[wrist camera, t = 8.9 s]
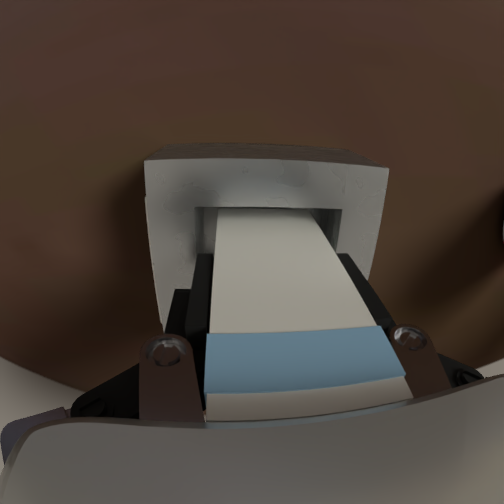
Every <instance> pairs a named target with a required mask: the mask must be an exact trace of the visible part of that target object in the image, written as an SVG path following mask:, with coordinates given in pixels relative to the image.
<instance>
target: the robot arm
mask: <svg viewBox="0 0 504 504" xmlns="http://www.w3.org/2000/svg"><path fill="white" fill-rule="evenodd" d="M336 255H337V256H338V258H339V260H340V261H341V263H342V265H343V267H344V268H345V270H346V272H347V273H348V275H349V277H350V278H351V280H352V282H353V284H354V285H355V287H356V289H357V291H358V292H359V294H360V296H361V298H362V299H363V301H364V303H365V305H366V306H367V308H368V310H369V312H370V314H371V315H372V317H373V319H374V321H375V323H376V325H377V326H381V328H382V330H383V331H384V333H385V335H386V337H387V339H388V341H389V342H390V344H391V346H392V348H393V350H394V352H395V354H396V356H397V358H398V359H399V361H400V363H401V365H402V367H403V369H404V371H405V373H406V375H405V377H404V378H405V380H406V382H407V385H408V387H409V389H410V391H411V393H412V395H413V399H411V400H407V401H403V402H398V403H394V404H389V405H384V406H379V407H374V408H369V409H364V410H358V411H352V412H346V413H339V414H332V415H325V416H317V417H308V418H298V419H287V420H274V421H257V422H205V420H204V415H203V411H204V410H205V409H206V404H205V396H204V379H205V359H206V341H207V334H209V333H210V315H211V298H212V283H213V269H214V257H213V253H198V254H197V258H196V264H195V269H194V275H193V280H192V286H191V289H175V291H174V294H173V298H172V302H171V306H170V310H169V314H168V319H167V323H166V327H165V332H164V334H162V335H157V336H154V337H152V338H150V339H149V340H147V341H146V342H145V343H144V344H143V346H142V347H141V350H140V361H139V363H138V364H137V365H135V366H133V367H131V368H130V369H128V370H126V371H124V372H122V373H121V374H119V375H117V376H115V377H114V378H112V379H110V380H108V381H106V382H104V383H103V384H101V385H99V386H97V387H95V388H94V389H92V390H90V391H88V392H86V393H84V394H83V395H81V396H80V397H78V398H77V399H76V401H75V402H74V403H73V405H72V407H71V409H67V410H65V409H64V407H60V408H57V409H54V410H50V411H47V412H44V413H41V414H37V415H34V416H30V417H27V418H23V419H19V420H15V421H13V422H10V423H8V424H7V425H6V426H5V427H4V428H3V430H2V433H1V438H0V442H1V449H2V455H3V461H4V468H3V470H2V473H1V475H0V504H504V374H500V375H496V376H492V377H486V378H485V379H484V377H483V376H482V374H480V373H479V372H478V371H477V370H475V369H473V368H471V367H469V366H467V365H464V364H462V363H459V362H457V361H455V360H452V359H450V358H448V357H445V356H443V355H441V354H438V353H437V352H436V350H435V348H434V345H433V343H432V341H431V339H430V337H429V336H428V334H427V333H426V332H425V331H424V330H422V329H421V328H419V327H417V326H414V325H411V324H399V325H396V324H395V322H394V321H393V319H392V317H391V315H390V314H389V312H388V311H387V309H386V308H385V306H384V305H383V303H382V302H381V300H380V299H379V297H378V296H377V294H376V293H375V291H374V290H373V288H372V287H371V285H370V284H369V283H368V281H367V280H366V278H365V277H364V275H363V274H362V272H361V271H360V270H359V268H358V267H357V265H356V264H355V263H354V261H353V260H352V258H351V257H350V256H349V254H348V253H336Z"/></svg>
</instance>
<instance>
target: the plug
mask: <svg viewBox="0 0 504 504" xmlns="http://www.w3.org/2000/svg"><path fill="white" fill-rule="evenodd" d="M405 375H406V373H405V371H404V369H403V367H402V365H401V363H400V361H399V359H398V358H397V356H396V354H395V352H394V350H393V348H392V346H391V344H390V342H389V341H388V339H387V337H386V335H385V333H384V331H383V330H382V328H381V326H377V325H376V323H375V321H374V319H373V317H372V315H371V314H370V312H369V310H368V308H367V306H366V305H365V303H364V301H363V299H362V298H361V296H360V294H359V292H358V291H357V289H356V287H355V285H354V284H353V282H352V280H351V278H350V277H349V275H348V273H347V272H346V270H345V268H344V267H343V265H342V263H341V261H340V260H339V258H338V256H337V255H336V253H335V252H334V250H333V248H332V247H331V245H330V243H329V242H328V240H327V238H326V237H325V235H324V234H323V232H322V230H321V229H320V227H319V226H318V224H317V222H316V221H315V219H314V218H313V216H312V215H311V213H310V211H309V210H308V209H259V208H218V218H217V230H216V243H215V255H214V269H213V283H212V298H211V315H210V333H209V334H207V341H206V359H205V379H204V396H205V404H206V422H257V421H274V420H287V419H298V418H308V417H317V416H325V415H332V414H339V413H346V412H352V411H358V410H364V409H369V408H374V407H379V406H384V405H389V404H394V403H398V402H403V401H407V400H411V399H413V395H412V393H411V391H410V389H409V387H408V385H407V382H406V380H405V378H404V377H405Z"/></svg>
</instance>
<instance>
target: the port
mask: <svg viewBox="0 0 504 504" xmlns="http://www.w3.org/2000/svg"><path fill="white" fill-rule="evenodd" d="M144 171H145V187H146V197H145V206H146V217H147V227H148V237H149V245H150V254H151V262H152V269H153V276H154V283H155V290H156V297H157V303H158V309H159V315H160V321H161V323H162V325H163V331H164V332H165V327H166V323H167V319H168V314H169V310H170V306H171V302H172V298H173V294H174V291H175V289H191V286H192V280H193V275H194V269H195V264H196V258H197V254H198V253H213V257H214V255H215V243H216V230H217V218H218V208H259V209H308V210H309V211H310V213H311V215H312V216H313V218H314V219H315V221H316V222H317V224H318V226H319V227H320V229H321V230H322V232H323V234H324V235H325V237H326V238H327V240H328V242H329V243H330V245H331V247H332V248H333V250H334V252H335V253H348V254H349V256H350V257H351V258H352V260H353V261H354V263H355V264H356V265H357V267H358V268H359V270H360V271H361V272H362V274H363V275H364V277H365V278H366V280H367V281H368V277H369V273H370V269H371V265H372V260H373V256H374V251H375V247H376V242H377V237H378V232H379V227H380V222H381V216H382V211H383V205H384V199H385V193H386V187H387V180H388V174H389V168H387V167H385V166H383V165H381V164H379V163H377V162H375V161H372V160H370V159H368V158H366V157H364V156H361V155H359V154H357V153H354V152H352V151H350V150H345V149H334V148H323V147H310V146H295V145H276V144H243V143H201V144H169V145H166V146H165V147H163V148H162V149H160V150H159V151H157V152H156V153H154V154H153V155H151V156H150V157H148V158H147V159H146V160H144Z"/></svg>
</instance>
